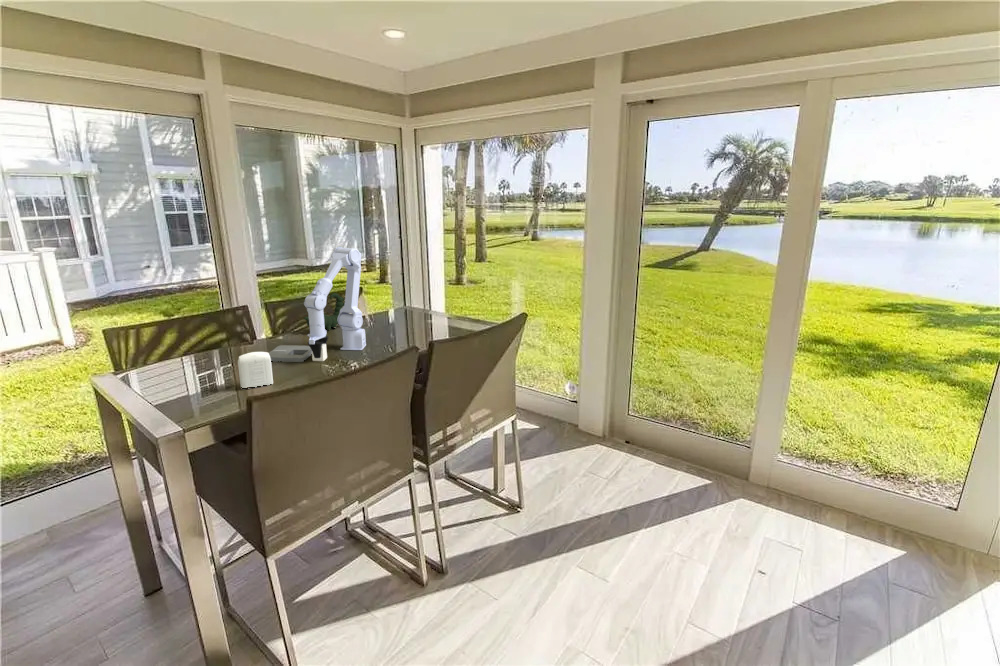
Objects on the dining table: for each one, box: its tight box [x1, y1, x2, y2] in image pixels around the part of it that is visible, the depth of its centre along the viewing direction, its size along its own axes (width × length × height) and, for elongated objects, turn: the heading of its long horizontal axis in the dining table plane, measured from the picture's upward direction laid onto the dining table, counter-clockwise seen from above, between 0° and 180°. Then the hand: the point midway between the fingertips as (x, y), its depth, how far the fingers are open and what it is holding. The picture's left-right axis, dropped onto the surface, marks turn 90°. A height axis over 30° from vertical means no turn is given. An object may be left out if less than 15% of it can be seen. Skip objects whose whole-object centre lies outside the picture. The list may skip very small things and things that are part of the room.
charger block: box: [311, 343, 328, 362], centre depth 190 cm, size 4×4×7 cm
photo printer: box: [237, 351, 274, 389], centre depth 161 cm, size 10×4×12 cm, turn 123°
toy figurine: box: [303, 292, 345, 331], centre depth 230 cm, size 9×19×25 cm
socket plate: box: [268, 344, 312, 363], centre depth 194 cm, size 16×16×2 cm
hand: (319, 355), depth 190 cm, fingers closed on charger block, 4 cm apart
